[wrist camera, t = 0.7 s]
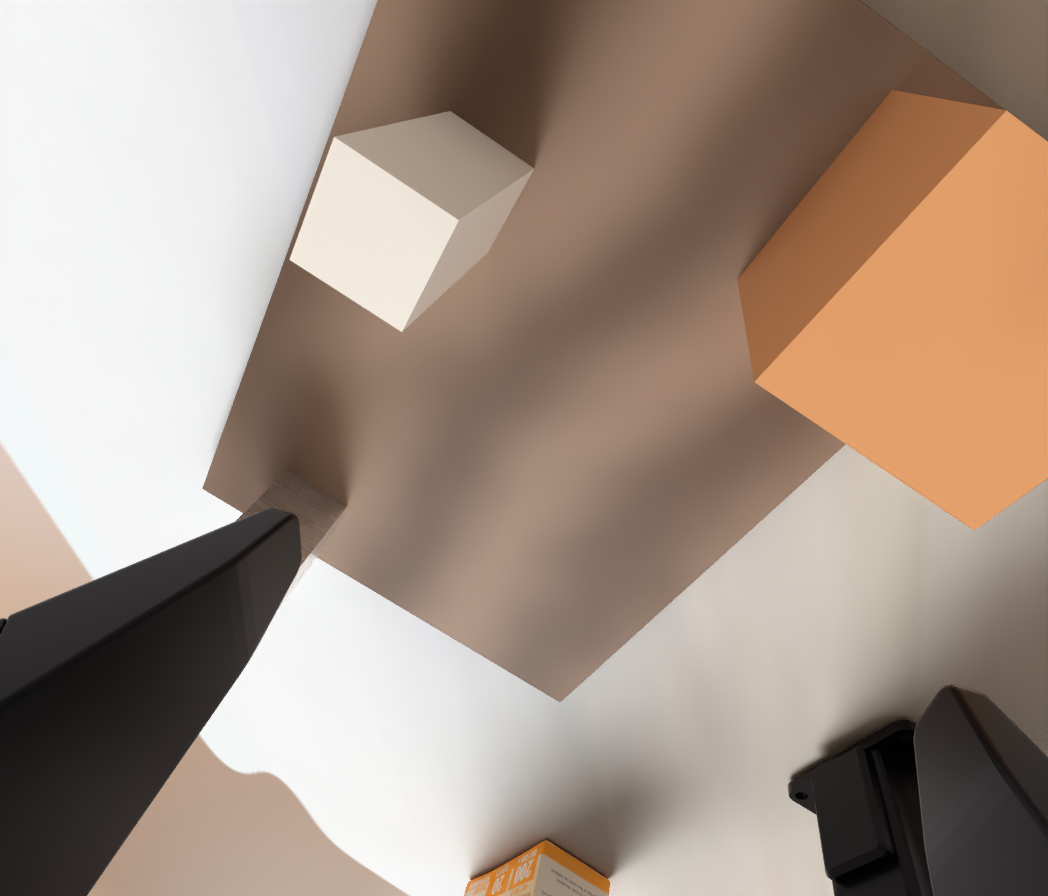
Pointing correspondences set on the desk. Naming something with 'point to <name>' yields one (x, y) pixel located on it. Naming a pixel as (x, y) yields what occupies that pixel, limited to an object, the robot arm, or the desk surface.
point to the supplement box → (541, 876)
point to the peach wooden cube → (918, 302)
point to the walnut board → (570, 315)
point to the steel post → (302, 515)
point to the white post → (407, 212)
